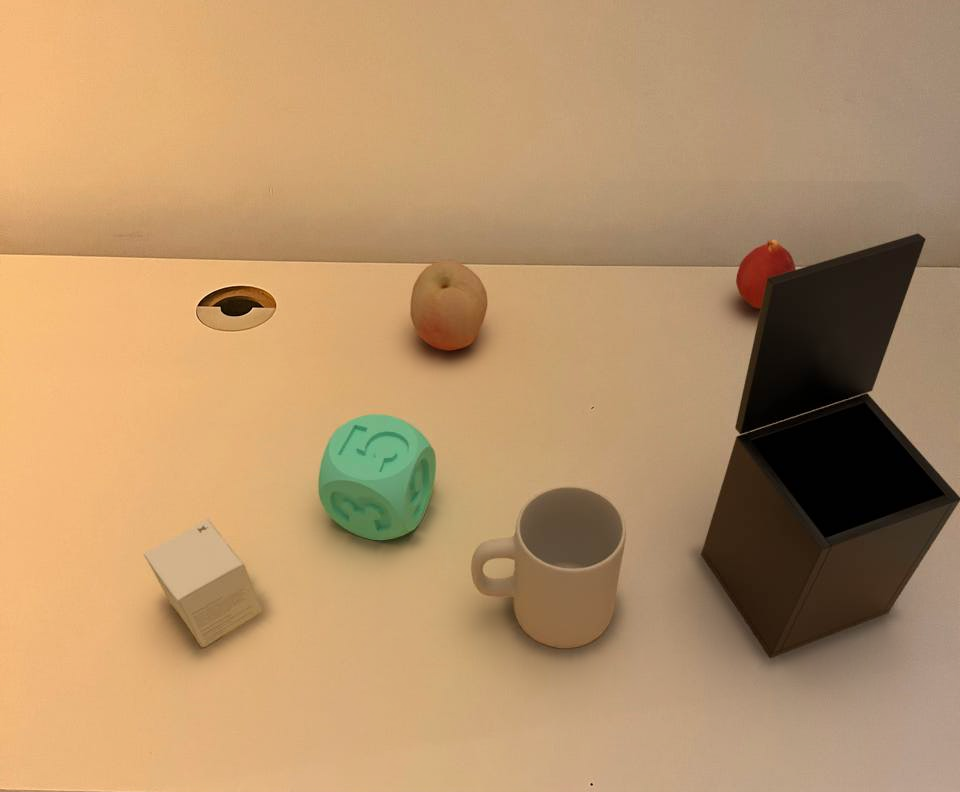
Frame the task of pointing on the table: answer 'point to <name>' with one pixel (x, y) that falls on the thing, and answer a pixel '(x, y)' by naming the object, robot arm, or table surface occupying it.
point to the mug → (559, 565)
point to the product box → (204, 582)
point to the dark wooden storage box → (823, 522)
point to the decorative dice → (377, 476)
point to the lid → (825, 332)
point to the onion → (762, 270)
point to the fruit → (448, 305)
